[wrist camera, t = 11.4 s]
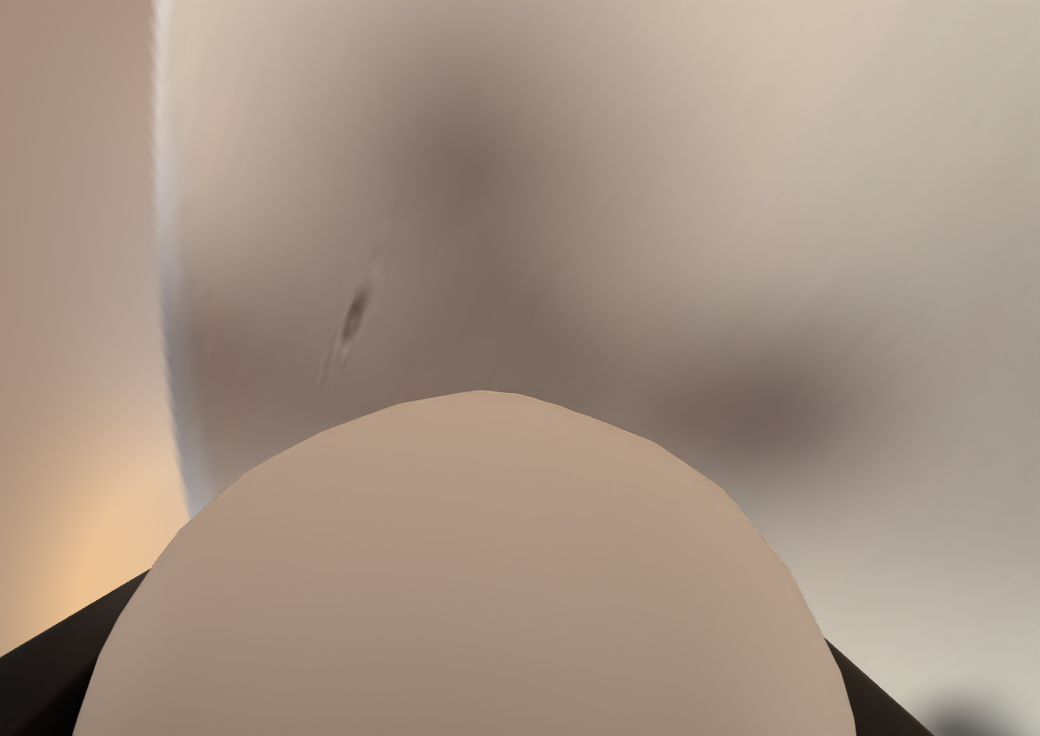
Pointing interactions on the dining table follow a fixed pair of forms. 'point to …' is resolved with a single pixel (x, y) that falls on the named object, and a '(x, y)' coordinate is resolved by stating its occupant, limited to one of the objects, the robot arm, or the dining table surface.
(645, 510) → the plain white apple
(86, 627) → the robot arm
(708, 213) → the dining table surface
